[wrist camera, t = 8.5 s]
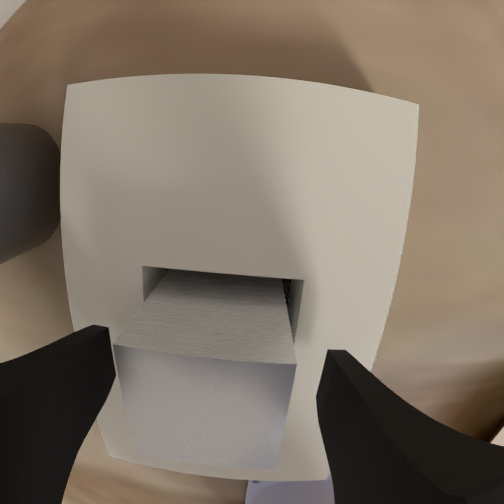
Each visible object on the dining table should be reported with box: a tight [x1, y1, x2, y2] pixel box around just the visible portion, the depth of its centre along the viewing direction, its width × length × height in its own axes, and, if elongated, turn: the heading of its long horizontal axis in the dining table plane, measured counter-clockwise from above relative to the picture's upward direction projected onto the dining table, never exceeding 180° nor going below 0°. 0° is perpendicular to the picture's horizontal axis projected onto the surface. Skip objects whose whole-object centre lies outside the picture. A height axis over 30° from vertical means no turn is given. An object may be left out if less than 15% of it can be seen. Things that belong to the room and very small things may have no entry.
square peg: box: [113, 269, 297, 470], centre depth 11 cm, size 4×4×7 cm
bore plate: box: [60, 74, 419, 481], centre depth 12 cm, size 18×12×3 cm, turn 175°
